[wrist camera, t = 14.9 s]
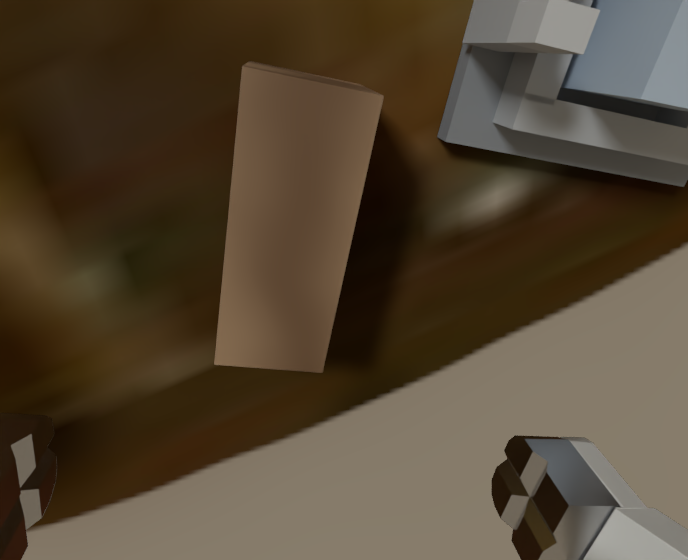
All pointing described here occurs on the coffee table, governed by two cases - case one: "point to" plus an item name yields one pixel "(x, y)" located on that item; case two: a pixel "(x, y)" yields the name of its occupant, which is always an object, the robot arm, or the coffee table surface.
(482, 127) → the jig
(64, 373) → the coffee table surface
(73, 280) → the coffee table surface
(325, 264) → the tan cardboard carton
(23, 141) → the coffee table surface
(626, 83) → the pale grey upright block
